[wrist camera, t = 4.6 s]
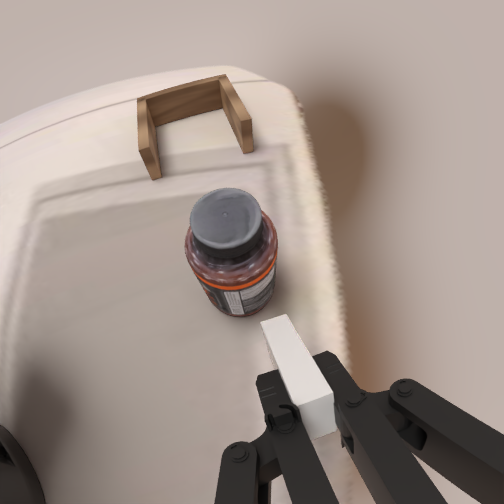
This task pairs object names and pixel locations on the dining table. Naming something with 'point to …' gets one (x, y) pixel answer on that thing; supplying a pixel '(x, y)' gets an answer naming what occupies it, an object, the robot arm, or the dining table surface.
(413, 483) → the robot arm
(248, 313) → the supplement bottle
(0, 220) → the dining table surface
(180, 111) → the bay
